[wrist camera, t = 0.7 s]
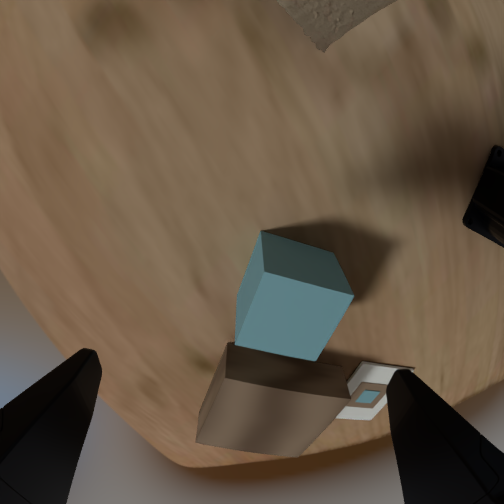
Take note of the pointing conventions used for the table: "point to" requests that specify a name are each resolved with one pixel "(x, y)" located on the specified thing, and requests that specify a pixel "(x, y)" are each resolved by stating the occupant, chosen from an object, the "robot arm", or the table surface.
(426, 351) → the table surface
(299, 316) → the teal cube
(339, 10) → the clay tablet
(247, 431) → the walnut block
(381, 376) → the card
